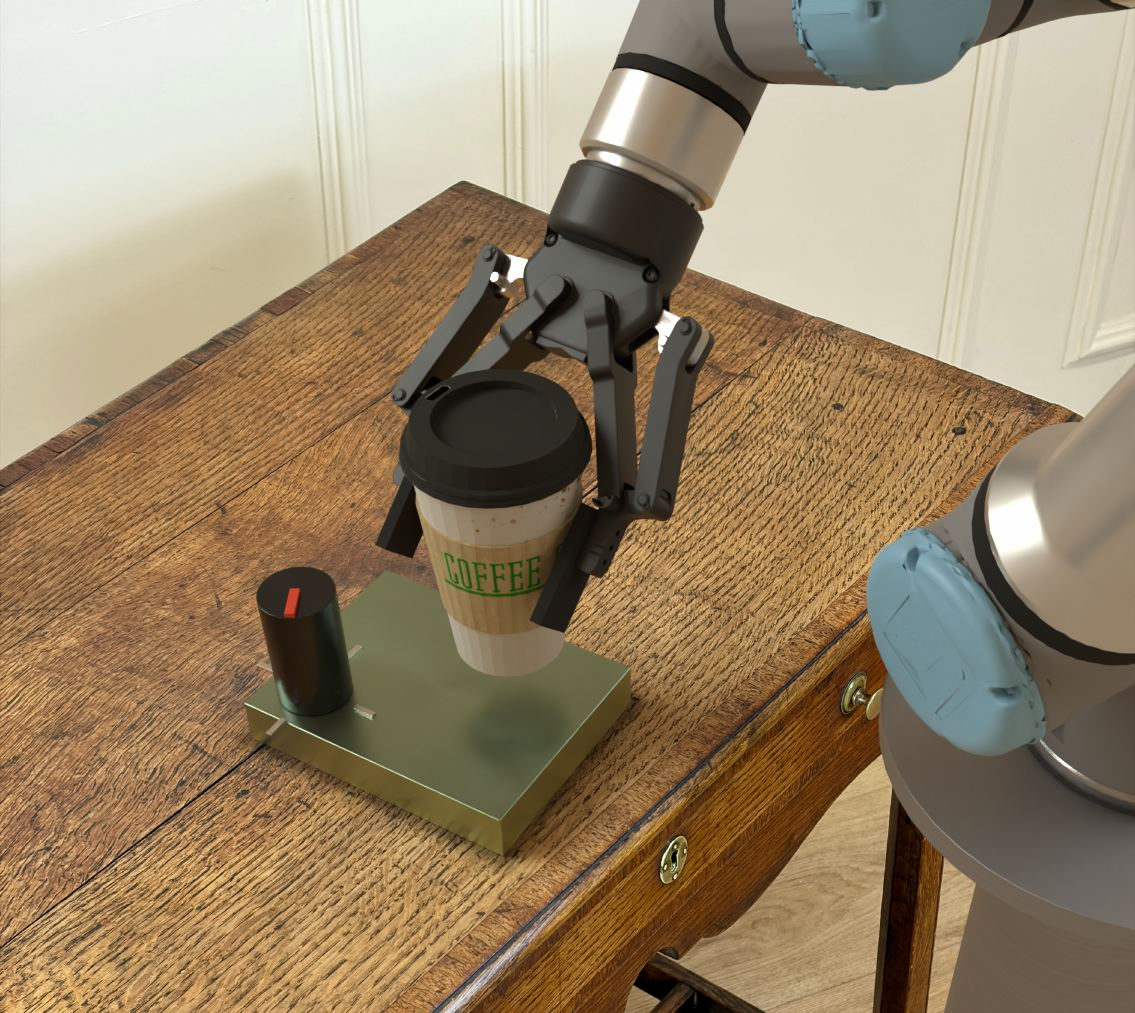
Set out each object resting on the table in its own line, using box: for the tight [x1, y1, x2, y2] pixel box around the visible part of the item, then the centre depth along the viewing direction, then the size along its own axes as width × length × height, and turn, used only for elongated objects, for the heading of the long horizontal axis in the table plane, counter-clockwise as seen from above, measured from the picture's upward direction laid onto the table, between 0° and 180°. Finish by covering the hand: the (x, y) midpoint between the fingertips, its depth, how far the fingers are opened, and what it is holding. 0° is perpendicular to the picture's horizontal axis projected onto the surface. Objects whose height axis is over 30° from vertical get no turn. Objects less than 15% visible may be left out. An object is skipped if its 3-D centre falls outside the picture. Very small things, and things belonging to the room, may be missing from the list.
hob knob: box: [255, 566, 353, 716], centre depth 90 cm, size 4×4×8 cm
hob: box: [243, 569, 632, 857], centre depth 94 cm, size 19×15×3 cm
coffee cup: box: [398, 369, 594, 677], centre depth 85 cm, size 10×10×15 cm
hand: (468, 588), depth 84 cm, fingers closed on coffee cup, 10 cm apart
